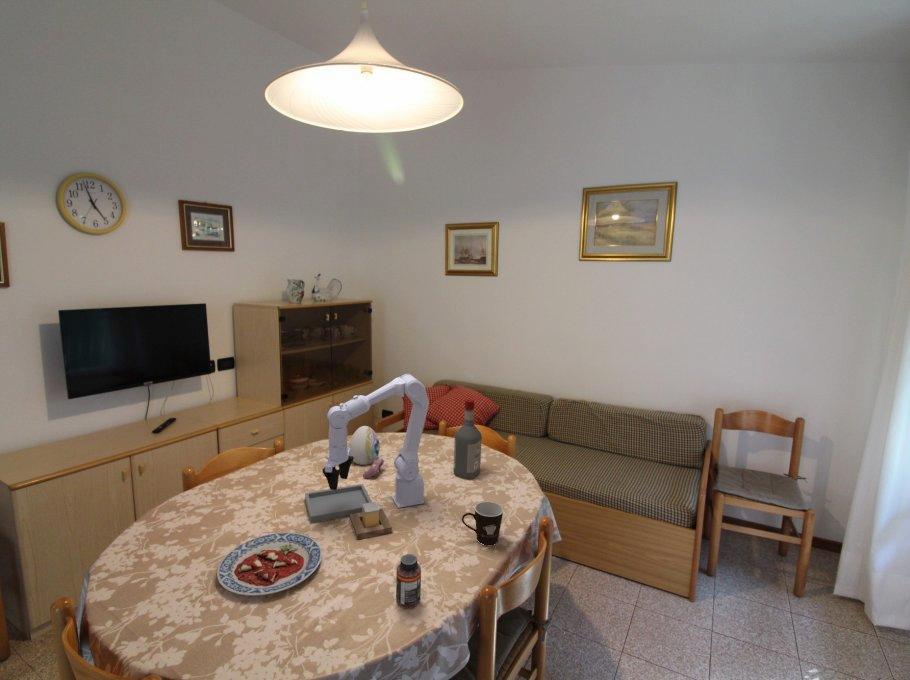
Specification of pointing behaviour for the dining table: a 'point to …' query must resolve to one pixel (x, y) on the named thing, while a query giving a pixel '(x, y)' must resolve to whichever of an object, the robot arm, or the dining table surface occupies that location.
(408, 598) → the supplement bottle
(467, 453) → the liquor
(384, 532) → the socket
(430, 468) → the dining table surface
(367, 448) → the decorative egg
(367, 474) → the video game controller
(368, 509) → the block
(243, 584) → the ceramic plate
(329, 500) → the parts tray
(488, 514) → the coffee mug
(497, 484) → the dining table surface
